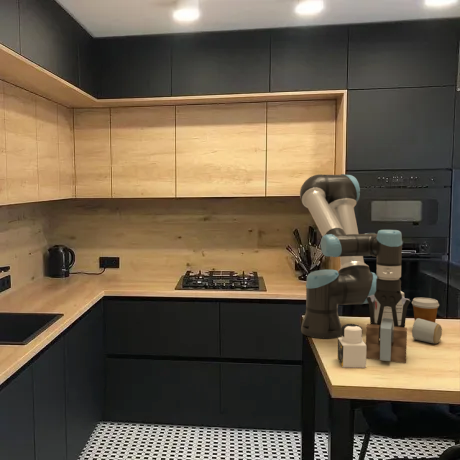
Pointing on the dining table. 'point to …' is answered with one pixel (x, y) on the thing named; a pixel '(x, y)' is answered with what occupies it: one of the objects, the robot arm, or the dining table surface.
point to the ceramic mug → (426, 331)
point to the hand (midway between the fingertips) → (386, 348)
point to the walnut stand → (396, 346)
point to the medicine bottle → (352, 347)
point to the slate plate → (386, 339)
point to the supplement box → (389, 311)
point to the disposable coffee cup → (425, 308)
